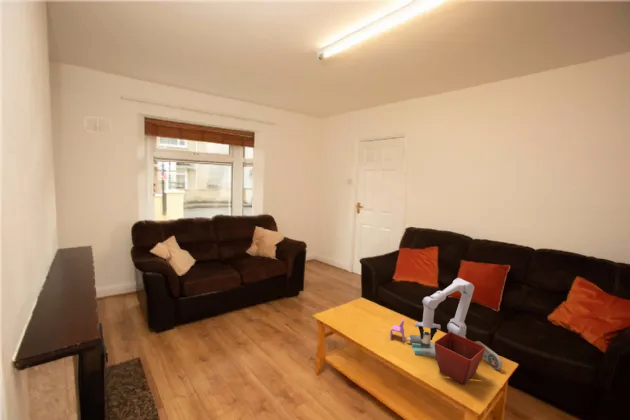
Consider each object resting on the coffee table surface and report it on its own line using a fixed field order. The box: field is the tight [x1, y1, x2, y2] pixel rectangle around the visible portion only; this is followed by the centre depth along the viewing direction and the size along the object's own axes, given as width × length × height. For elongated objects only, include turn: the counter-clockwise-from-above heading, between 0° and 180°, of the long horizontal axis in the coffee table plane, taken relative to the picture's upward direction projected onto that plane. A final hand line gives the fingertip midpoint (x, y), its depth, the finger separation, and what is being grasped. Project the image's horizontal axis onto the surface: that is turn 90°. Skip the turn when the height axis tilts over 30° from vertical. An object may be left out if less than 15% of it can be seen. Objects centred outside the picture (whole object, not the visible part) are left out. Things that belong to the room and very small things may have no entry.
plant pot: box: [433, 331, 485, 385], centre depth 152 cm, size 19×19×17 cm
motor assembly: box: [406, 334, 436, 358], centre depth 173 cm, size 17×15×6 cm
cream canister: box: [422, 331, 432, 344], centre depth 168 cm, size 5×5×6 cm
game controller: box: [474, 340, 503, 370], centre depth 164 cm, size 20×2×8 cm, turn 11°
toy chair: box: [389, 317, 406, 342], centre depth 183 cm, size 8×9×15 cm
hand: (426, 338), depth 168 cm, fingers closed on cream canister, 5 cm apart
